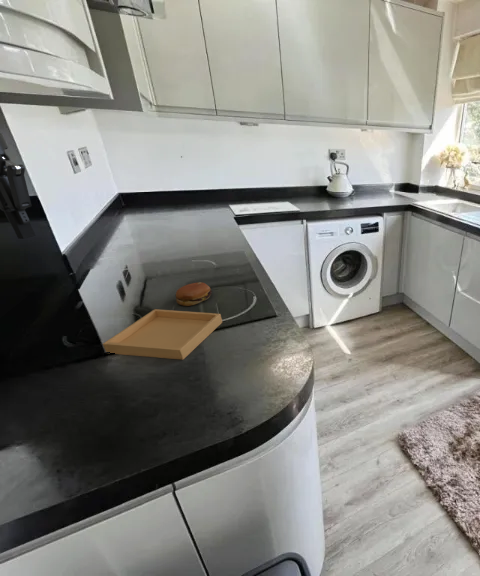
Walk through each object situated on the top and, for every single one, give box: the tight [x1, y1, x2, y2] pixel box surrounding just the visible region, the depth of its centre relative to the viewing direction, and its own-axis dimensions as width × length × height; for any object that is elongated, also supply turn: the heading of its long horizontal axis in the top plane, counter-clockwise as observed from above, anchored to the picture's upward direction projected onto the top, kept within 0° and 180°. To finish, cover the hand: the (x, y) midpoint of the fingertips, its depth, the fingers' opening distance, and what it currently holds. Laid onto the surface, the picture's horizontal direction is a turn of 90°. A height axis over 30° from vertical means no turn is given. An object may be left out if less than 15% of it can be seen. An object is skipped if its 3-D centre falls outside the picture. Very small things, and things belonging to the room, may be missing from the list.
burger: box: [175, 281, 213, 307], centre depth 101 cm, size 10×9×5 cm
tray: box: [102, 308, 223, 361], centre depth 83 cm, size 20×17×3 cm
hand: (27, 237), depth 79 cm, fingers closed
